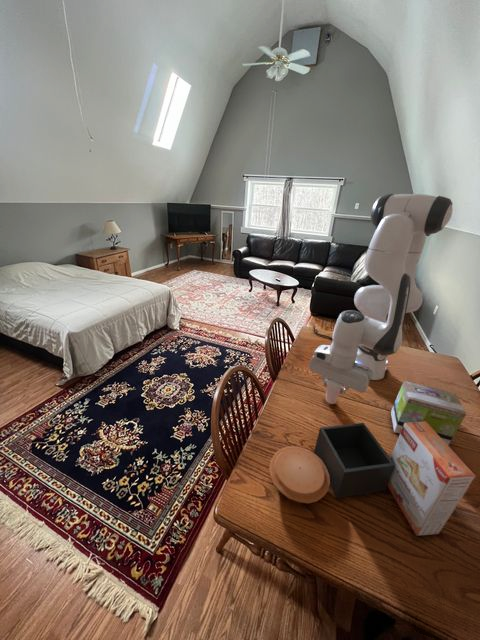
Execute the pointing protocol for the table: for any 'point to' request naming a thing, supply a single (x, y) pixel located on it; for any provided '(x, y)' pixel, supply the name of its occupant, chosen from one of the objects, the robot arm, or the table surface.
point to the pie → (299, 474)
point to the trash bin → (353, 459)
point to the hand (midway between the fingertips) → (333, 389)
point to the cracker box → (426, 478)
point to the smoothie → (332, 391)
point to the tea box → (428, 409)
